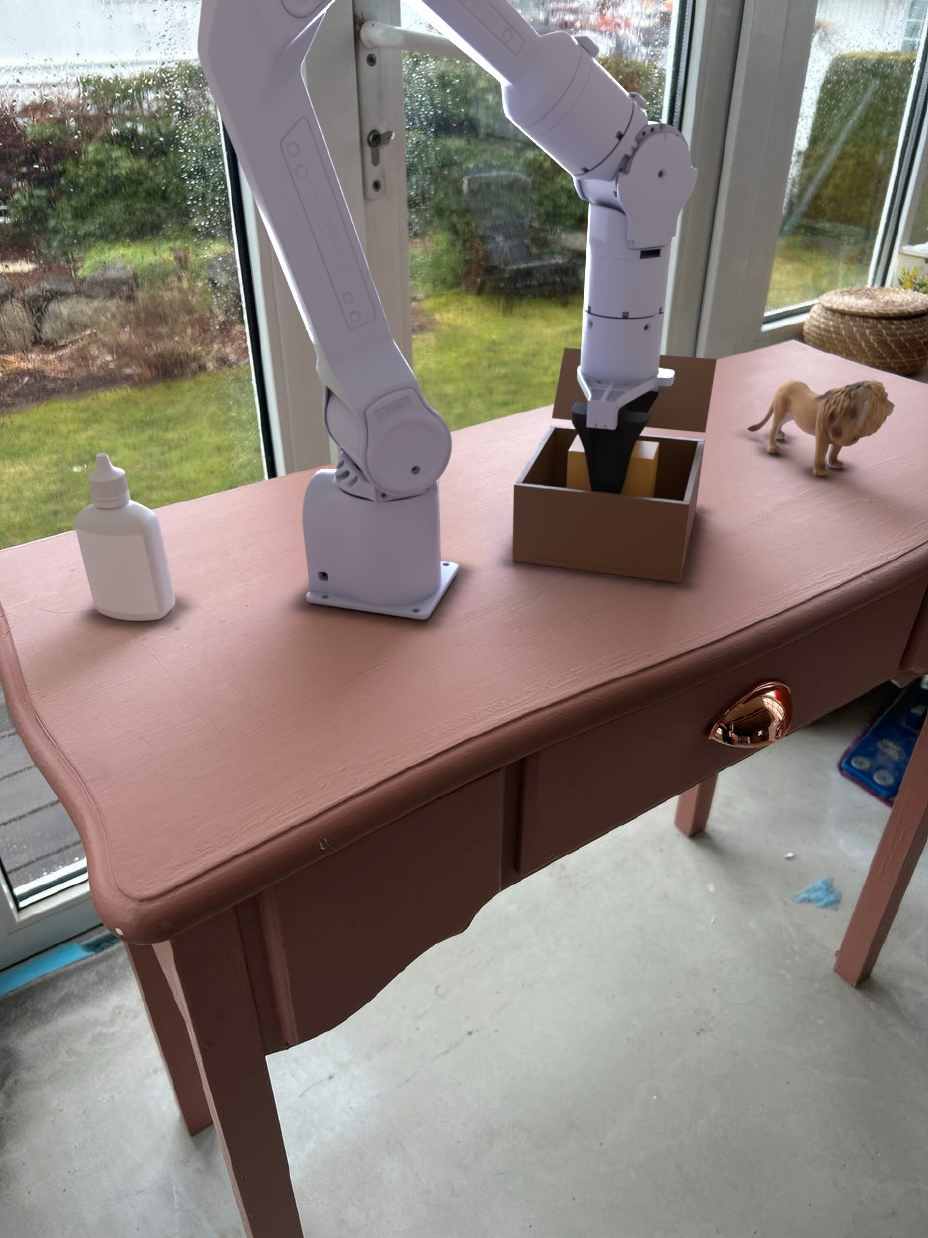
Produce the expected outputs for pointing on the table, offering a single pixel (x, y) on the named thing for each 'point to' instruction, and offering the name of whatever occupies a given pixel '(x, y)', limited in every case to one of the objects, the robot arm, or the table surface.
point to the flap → (674, 403)
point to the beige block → (638, 473)
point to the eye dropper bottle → (122, 550)
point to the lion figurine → (828, 416)
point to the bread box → (607, 513)
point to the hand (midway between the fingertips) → (610, 484)
